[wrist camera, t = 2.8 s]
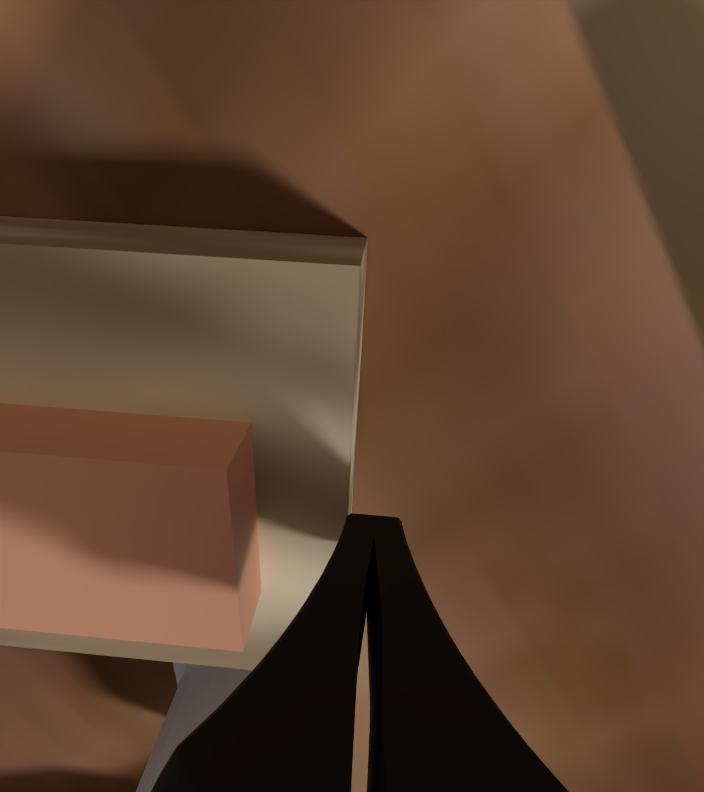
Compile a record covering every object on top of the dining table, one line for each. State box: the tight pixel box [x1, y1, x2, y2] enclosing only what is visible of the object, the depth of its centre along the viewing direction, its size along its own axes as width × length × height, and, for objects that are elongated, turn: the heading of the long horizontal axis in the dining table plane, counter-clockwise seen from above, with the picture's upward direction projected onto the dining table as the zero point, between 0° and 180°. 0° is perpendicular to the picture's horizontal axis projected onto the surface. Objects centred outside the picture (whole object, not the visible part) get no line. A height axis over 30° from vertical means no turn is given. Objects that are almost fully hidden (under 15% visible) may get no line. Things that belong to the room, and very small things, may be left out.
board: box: [0, 216, 368, 670], centre depth 15 cm, size 14×14×4 cm
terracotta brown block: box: [0, 403, 261, 652], centre depth 12 cm, size 6×9×2 cm, turn 87°
